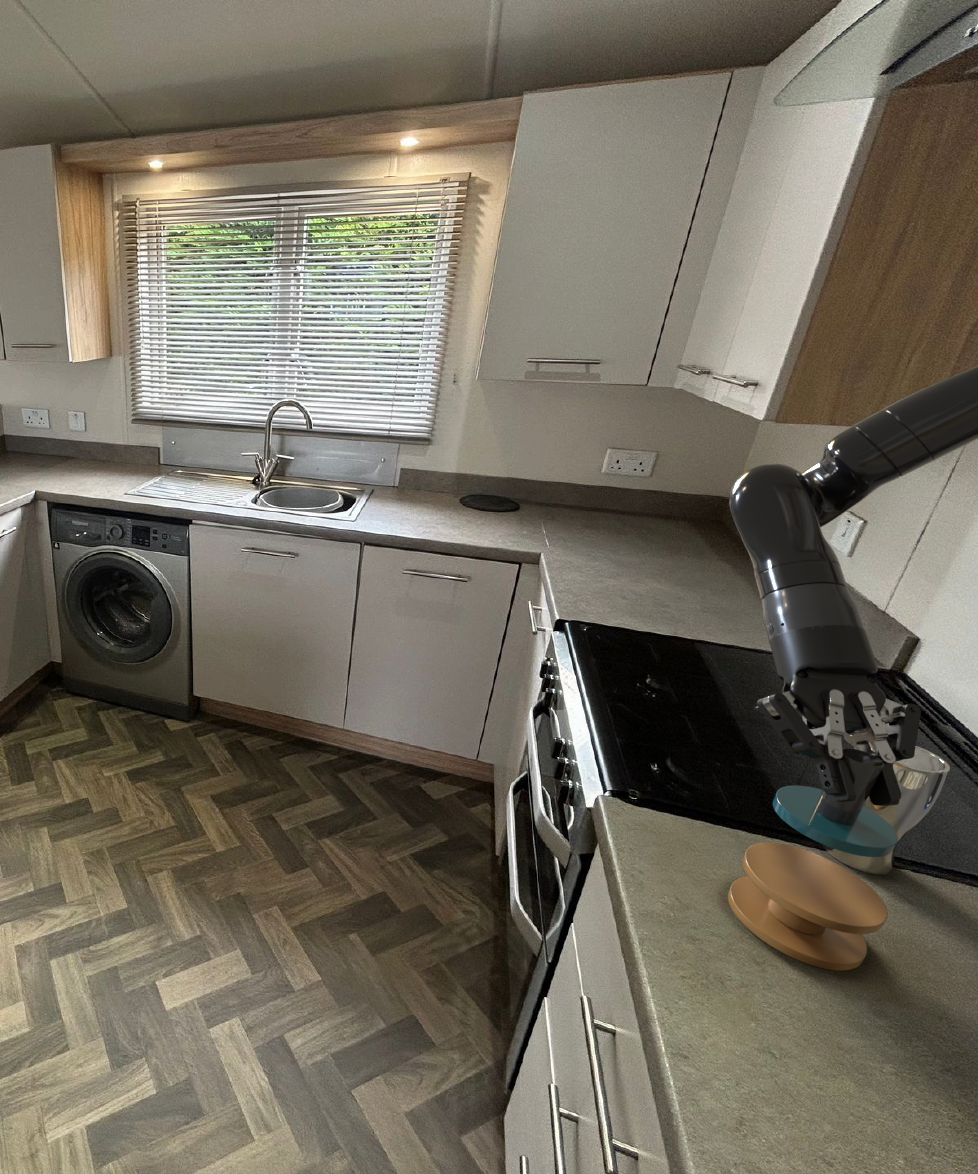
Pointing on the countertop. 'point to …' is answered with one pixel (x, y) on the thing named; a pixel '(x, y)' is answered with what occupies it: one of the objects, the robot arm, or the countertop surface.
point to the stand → (806, 906)
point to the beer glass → (903, 806)
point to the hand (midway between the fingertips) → (864, 802)
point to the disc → (840, 811)
